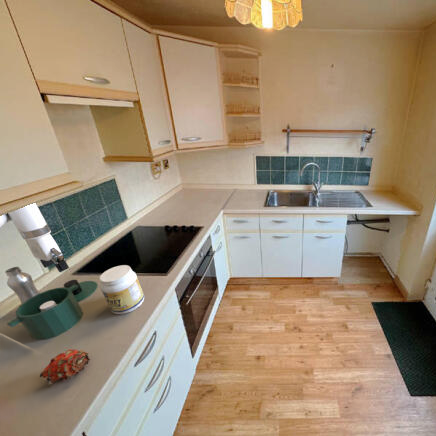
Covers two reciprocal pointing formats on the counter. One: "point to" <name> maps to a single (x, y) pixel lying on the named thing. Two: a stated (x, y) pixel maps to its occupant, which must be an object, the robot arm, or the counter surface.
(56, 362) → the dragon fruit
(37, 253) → the robot arm
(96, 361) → the counter surface
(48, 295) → the pot
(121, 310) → the supplement tub
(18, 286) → the silver metal bottle
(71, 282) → the pot lid
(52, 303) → the supplement bottle
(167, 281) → the counter surface
